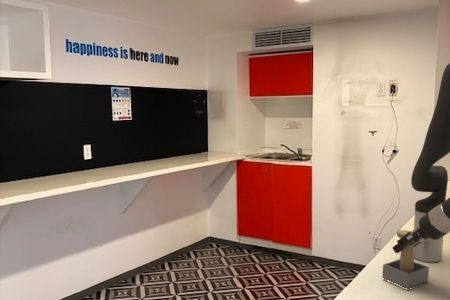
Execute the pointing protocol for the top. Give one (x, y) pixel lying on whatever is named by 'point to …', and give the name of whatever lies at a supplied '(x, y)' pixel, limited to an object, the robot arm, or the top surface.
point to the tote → (405, 274)
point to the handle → (406, 255)
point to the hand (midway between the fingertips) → (401, 248)
